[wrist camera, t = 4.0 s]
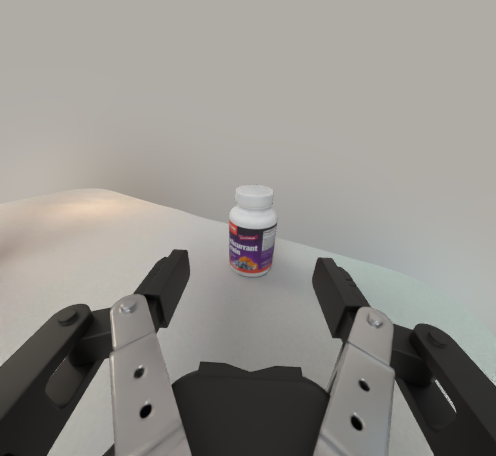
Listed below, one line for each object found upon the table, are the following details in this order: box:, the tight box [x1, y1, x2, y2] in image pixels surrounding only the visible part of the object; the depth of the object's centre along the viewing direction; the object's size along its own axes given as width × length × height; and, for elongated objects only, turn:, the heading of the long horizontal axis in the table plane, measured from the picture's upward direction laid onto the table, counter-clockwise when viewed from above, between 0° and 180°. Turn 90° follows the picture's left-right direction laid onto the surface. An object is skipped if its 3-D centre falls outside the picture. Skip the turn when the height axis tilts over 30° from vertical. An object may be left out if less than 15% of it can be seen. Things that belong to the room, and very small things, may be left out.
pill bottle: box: [229, 185, 277, 277], centre depth 22 cm, size 5×5×10 cm
